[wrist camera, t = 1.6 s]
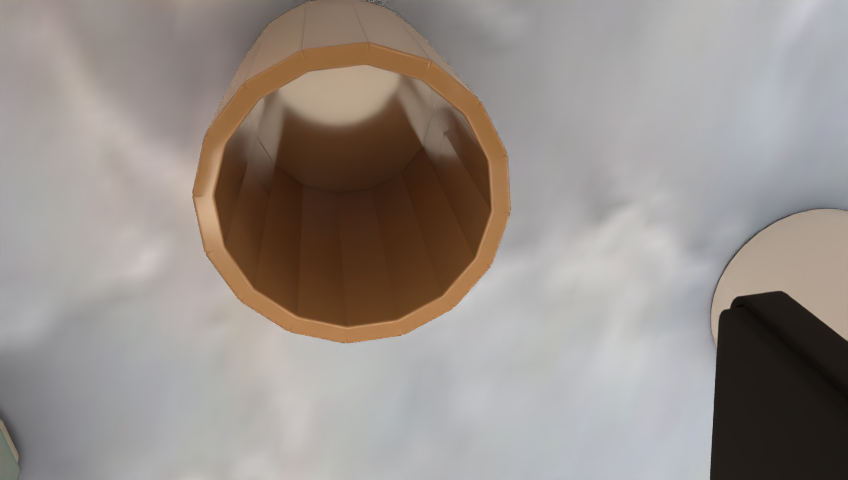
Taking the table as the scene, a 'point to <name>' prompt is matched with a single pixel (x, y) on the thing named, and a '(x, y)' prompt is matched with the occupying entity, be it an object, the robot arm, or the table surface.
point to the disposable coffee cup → (8, 456)
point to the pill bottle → (794, 267)
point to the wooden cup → (350, 177)
